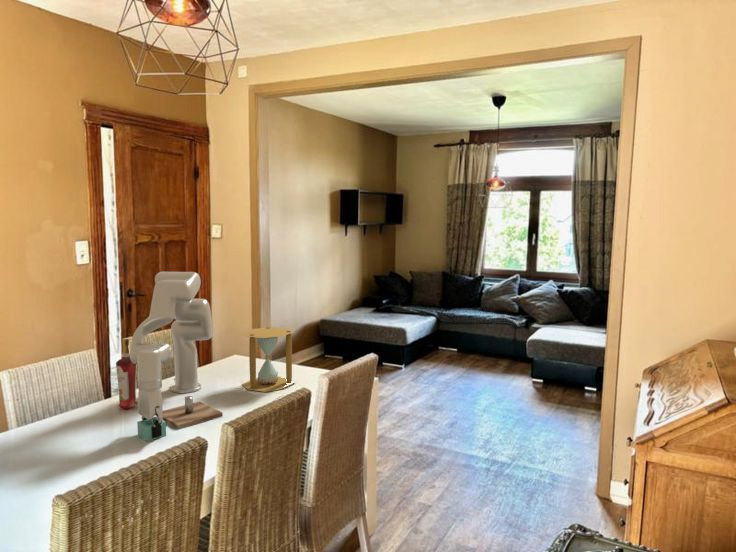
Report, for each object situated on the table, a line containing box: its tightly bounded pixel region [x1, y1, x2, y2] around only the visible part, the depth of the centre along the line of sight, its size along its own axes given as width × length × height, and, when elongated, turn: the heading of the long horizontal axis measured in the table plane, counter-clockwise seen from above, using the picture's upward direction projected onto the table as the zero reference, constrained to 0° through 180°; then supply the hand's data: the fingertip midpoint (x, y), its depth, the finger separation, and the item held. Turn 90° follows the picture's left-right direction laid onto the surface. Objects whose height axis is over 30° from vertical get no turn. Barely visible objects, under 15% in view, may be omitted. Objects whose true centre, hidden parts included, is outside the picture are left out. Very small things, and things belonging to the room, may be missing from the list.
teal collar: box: [137, 419, 167, 442], centre depth 184 cm, size 7×7×5 cm
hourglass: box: [241, 326, 295, 393], centre depth 242 cm, size 24×22×25 cm
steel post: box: [184, 395, 194, 414], centre depth 203 cm, size 3×3×6 cm
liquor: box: [115, 338, 138, 411], centre depth 211 cm, size 7×7×28 cm
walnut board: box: [155, 401, 224, 430], centre depth 203 cm, size 18×18×2 cm
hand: (151, 433), depth 185 cm, fingers closed on teal collar, 7 cm apart
